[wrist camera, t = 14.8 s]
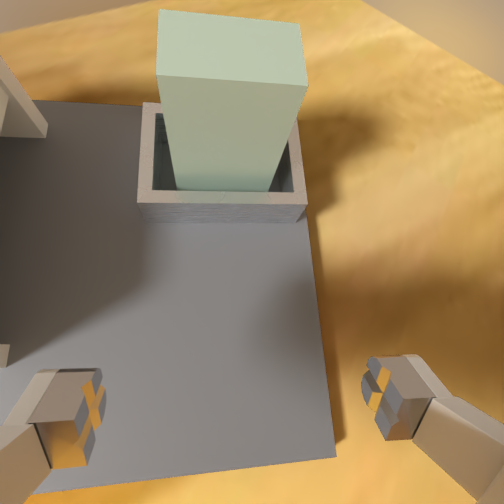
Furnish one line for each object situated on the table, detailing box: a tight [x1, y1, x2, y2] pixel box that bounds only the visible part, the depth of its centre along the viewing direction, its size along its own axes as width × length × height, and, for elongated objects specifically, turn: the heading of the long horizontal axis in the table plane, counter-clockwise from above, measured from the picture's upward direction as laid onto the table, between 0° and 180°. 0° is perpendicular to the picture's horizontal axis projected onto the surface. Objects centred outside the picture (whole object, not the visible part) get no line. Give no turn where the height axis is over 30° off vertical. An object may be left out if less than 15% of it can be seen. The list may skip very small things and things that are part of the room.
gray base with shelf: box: [0, 56, 337, 495], centre depth 16 cm, size 24×24×9 cm
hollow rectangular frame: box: [137, 102, 308, 224], centre depth 20 cm, size 10×7×3 cm
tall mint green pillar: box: [156, 9, 308, 192], centre depth 17 cm, size 6×4×10 cm
